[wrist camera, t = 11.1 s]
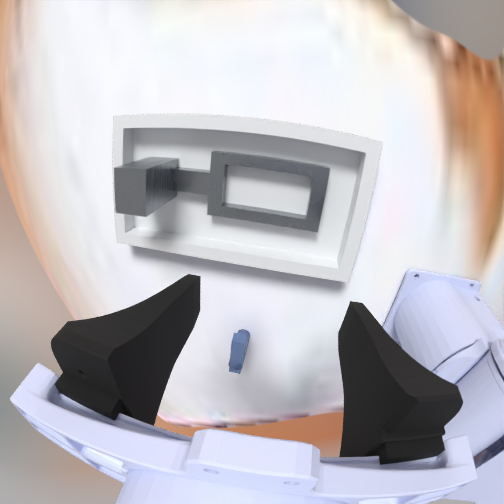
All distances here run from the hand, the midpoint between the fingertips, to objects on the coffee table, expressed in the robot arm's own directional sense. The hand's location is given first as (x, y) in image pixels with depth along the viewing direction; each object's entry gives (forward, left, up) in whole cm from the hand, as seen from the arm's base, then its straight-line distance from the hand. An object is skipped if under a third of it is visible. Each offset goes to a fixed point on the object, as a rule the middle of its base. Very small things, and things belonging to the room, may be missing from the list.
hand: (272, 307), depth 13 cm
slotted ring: (+4, -3, -9) cm, 10 cm away
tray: (+4, -3, -9) cm, 11 cm away
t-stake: (+2, +11, -9) cm, 15 cm away
